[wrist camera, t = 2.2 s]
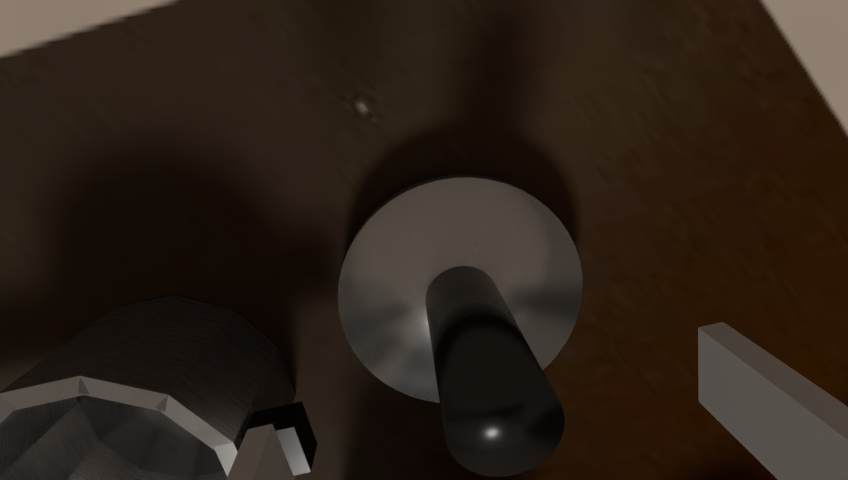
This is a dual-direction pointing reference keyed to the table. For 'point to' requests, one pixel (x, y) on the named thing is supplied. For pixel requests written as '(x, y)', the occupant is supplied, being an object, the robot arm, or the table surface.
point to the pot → (151, 399)
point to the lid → (467, 312)
